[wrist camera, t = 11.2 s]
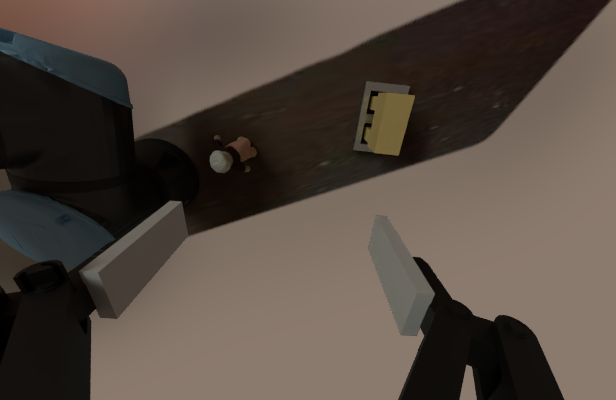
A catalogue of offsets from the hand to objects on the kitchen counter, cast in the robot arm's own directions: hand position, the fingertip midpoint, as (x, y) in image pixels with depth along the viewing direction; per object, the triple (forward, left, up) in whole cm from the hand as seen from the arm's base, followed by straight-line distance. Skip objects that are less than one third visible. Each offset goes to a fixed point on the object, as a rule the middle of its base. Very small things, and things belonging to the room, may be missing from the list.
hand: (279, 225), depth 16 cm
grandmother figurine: (-11, -2, -30) cm, 32 cm away
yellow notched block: (+12, +6, -30) cm, 33 cm away
